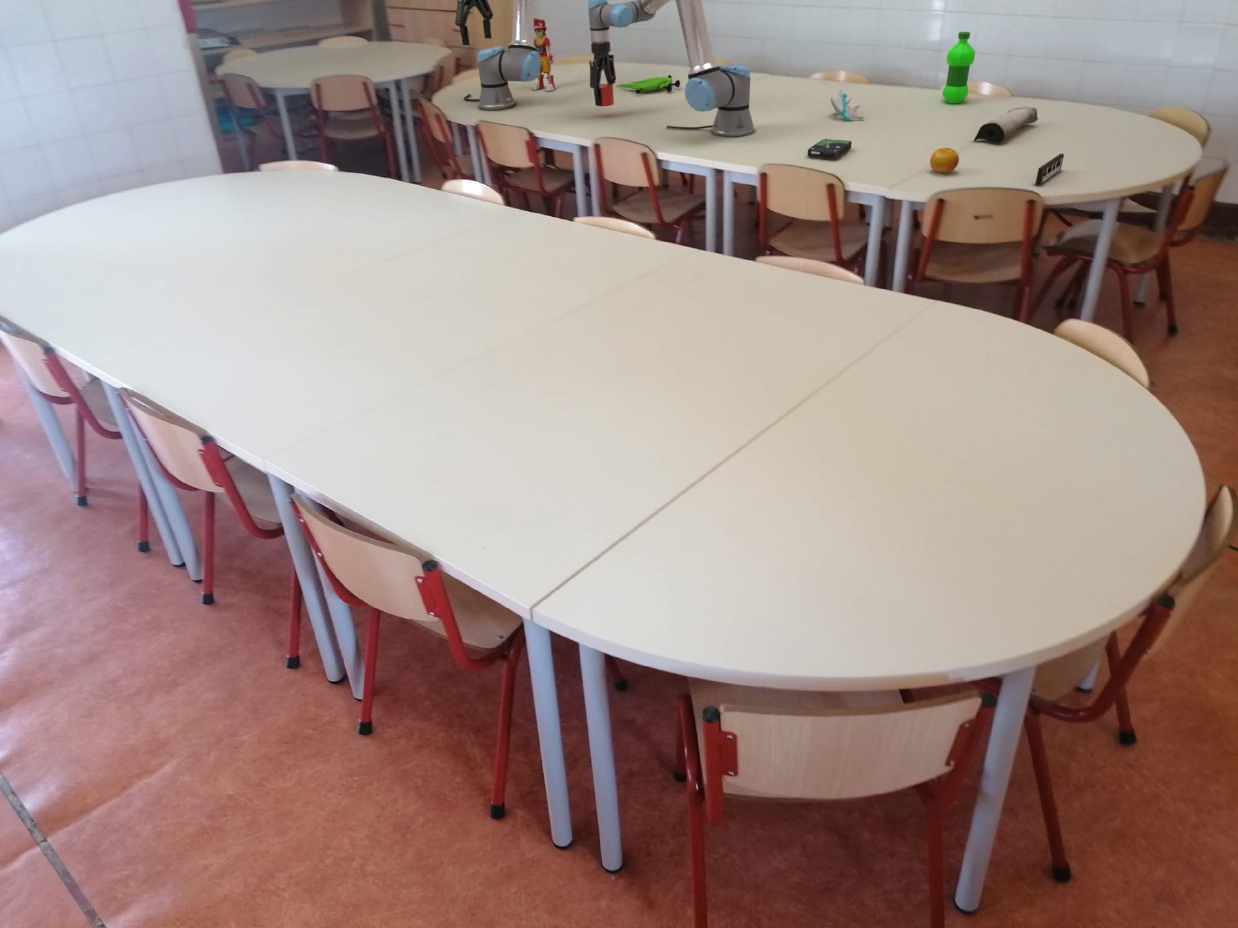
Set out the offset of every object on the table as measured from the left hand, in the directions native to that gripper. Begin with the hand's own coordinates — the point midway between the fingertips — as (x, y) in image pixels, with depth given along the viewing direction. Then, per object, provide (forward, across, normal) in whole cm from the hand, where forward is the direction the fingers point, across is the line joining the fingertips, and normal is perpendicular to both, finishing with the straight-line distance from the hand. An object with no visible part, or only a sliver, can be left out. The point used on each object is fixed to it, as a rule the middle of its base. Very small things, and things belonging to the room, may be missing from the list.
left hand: (477, 42), depth 342 cm
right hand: (+27, +31, -36) cm, 55 cm away
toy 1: (+32, +64, +17) cm, 74 cm away
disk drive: (+32, +12, -138) cm, 142 cm away
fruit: (+32, +5, -178) cm, 181 cm away
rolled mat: (+32, +56, -187) cm, 198 cm away
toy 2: (+32, +79, -28) cm, 90 cm away
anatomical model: (+32, +60, -127) cm, 144 cm away
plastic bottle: (+32, +95, -160) cm, 188 cm away
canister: (+27, +31, -36) cm, 55 cm away
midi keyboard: (+32, +10, -208) cm, 211 cm away
